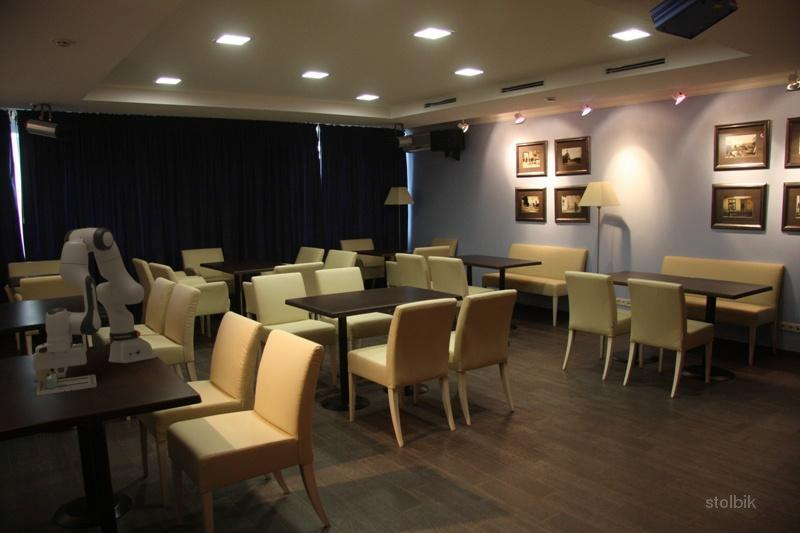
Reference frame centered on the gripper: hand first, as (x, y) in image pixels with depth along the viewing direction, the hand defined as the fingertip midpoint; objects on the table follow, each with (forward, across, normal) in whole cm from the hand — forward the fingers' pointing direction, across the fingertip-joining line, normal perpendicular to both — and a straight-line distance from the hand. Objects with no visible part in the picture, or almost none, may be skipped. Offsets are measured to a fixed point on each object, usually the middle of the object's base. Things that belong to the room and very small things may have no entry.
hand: (61, 377), depth 259 cm
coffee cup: (+4, +6, -14) cm, 16 cm away
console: (+3, -2, +4) cm, 6 cm away
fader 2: (+2, +3, 0) cm, 3 cm away
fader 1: (+2, +4, +8) cm, 9 cm away
